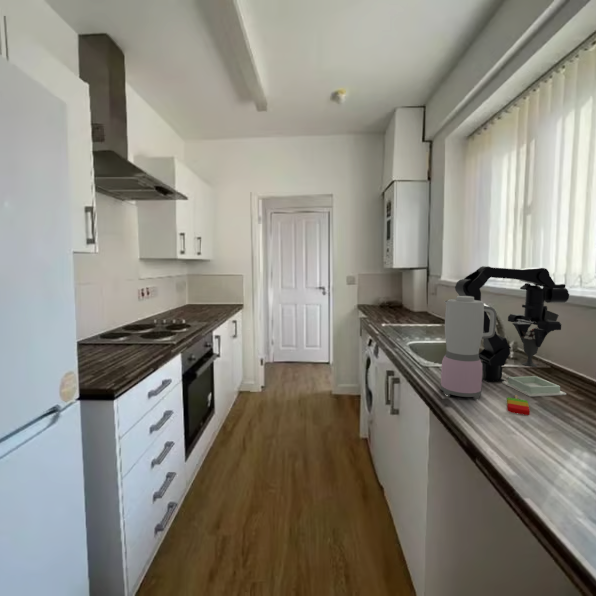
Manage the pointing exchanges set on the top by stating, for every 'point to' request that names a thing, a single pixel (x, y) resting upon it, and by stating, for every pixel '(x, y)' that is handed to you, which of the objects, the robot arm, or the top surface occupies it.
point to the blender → (464, 346)
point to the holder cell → (533, 386)
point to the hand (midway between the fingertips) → (531, 344)
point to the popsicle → (518, 405)
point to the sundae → (529, 347)
